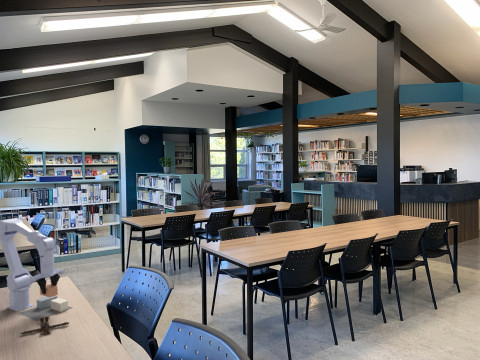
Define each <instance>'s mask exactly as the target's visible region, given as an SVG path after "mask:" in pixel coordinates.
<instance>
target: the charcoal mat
mask: <svg viewBox="0 0 480 360" xmlns="http://www.w3.org/2000/svg"><path fill="white" fill-rule="evenodd" d="M71 309H73V307H71V306H69V305H68V309H67V310H64V311H62V312H59V311H56V310H54V309H51V306H50V307H47V308H45V309H42V310H41V309H38V308H37V306H36V307H33V308H32V307H31V308H30V309H27V310H24V311H23V310H22V311H21V312H18V313H17V314H19V315H21V316H24V317H26V318H29V319H32V320H33V321H37V322H40V318H43V317H44V319H45V317H46V316H47V317H49V318H50V317H51V316H52V317H53V316H55V315H58V314H60V313H63V312H66V311H68V310H71Z"/></svg>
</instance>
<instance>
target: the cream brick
mask: <svg viewBox="0 0 480 360" xmlns="http://www.w3.org/2000/svg"><path fill="white" fill-rule="evenodd" d="M68 306H69V300H66V299H63V298H60V297H57V299H54V300H51V309H54V310H56V311H59V312H60V313H63V312H65V311H64V310H66V311H68V310H67V309H68ZM62 311H63V312H62Z"/></svg>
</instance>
